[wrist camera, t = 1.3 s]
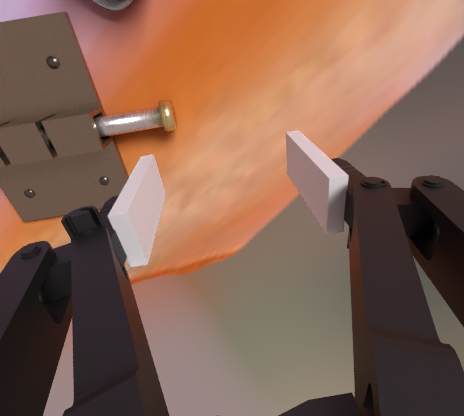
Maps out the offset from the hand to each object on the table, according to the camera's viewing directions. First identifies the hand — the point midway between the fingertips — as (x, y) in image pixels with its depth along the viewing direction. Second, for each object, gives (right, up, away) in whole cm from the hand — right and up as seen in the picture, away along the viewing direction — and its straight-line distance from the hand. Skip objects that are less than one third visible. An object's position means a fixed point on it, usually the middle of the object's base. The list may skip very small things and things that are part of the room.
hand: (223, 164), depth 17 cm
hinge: (-22, +6, +16) cm, 28 cm away
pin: (-15, +8, +16) cm, 24 cm away
